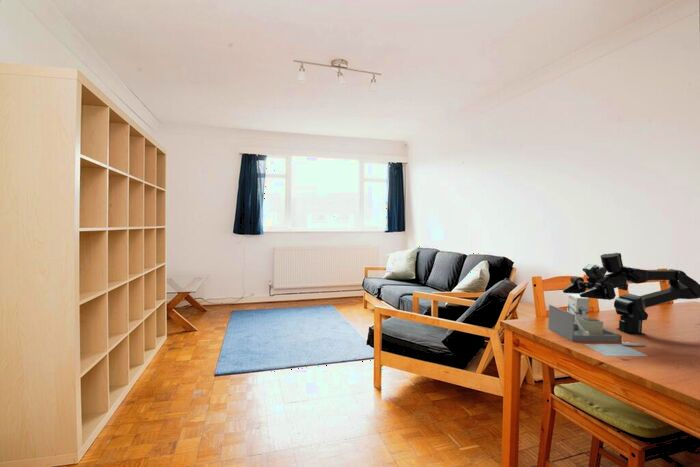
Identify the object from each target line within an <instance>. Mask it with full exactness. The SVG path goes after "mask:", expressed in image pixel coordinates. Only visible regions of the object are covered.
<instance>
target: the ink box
mask: <svg viewBox="0 0 700 467" xmlns="http://www.w3.org/2000/svg"><path fill="white" fill-rule="evenodd" d="M567 294H568V295H567V296H568V297H567V308H566V309H567V310H566V311H567V312H569V313H572V314H574V315H575V318H576V320H577V321H578V322H579V318H589V304H590V298H585V297H580V294H581V293H580V294H576V293H567ZM574 324H576V323H575V321H574Z"/></svg>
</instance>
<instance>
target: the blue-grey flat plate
mask: <svg viewBox="0 0 700 467" xmlns="http://www.w3.org/2000/svg"><path fill="white" fill-rule="evenodd" d="M583 345H584V346H586V347H587V348H589V349H592V350H594V351H596V352H597V353H599V354H602V355H604V356H606V357H648V355H647V354H646V353H643V352H640V351H638V350H636V349H634V348H632V347H630V346H623V345H621V343H620V344H615V343H613V344H612V343H611V344H606V343H603V344H601V343H599V344H598V343H597V344H595V343H594V344H593V343H592V344H591V343H585V344H583Z"/></svg>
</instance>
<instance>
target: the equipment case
mask: <svg viewBox="0 0 700 467" xmlns="http://www.w3.org/2000/svg"><path fill="white" fill-rule="evenodd" d="M574 321H575V323H576V324H574ZM547 323H548V330H550V331H552V332H554V333H556V334H558V335H559V336H561V337H563V338H565V339H567V340H569V341H570V342H613V343H614V342H617V343H618V342H620V343H621V342H622V335H620V334H619V333H617V332H613V331H611V330H610V329H607V328H604V327H603V333H602V335H589V332H588V331H585V330H584V329H583V327H582V326H581V325H580V323H579V322H578V321H577V320H576V318H575V315H574V314H572V313H569V312H567V310H564V309H562V308H560V307H557V306H554V305H552V304H549V306H548V322H547ZM578 327H579V328H580V329H581V330H582V331H581V334H578Z"/></svg>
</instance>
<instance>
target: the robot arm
mask: <svg viewBox="0 0 700 467" xmlns="http://www.w3.org/2000/svg"><path fill="white" fill-rule="evenodd" d="M600 260H601V265H602V266H599V265H597V264H591V263H588V264H587V265H586V266H584V267H583V268H582V272H583V273H585V275H586V276H587V277H586V281H585V279H584V278H583V277H580V276H571V277H570V284H569V285H568V286H567V287H565V288H564V289H562V292H563V294H580V297H585V298H589V299H596V300H597V299H598V300H604V301H605V300H609V301H611V300H614V302H613V307H614V309H615V312H616V315H620V316H619V317H620V318H619V320H618V322H619V323H618V328H617V327H616V329H615V330H618V331H620V332H623V333H625V334H628V335H638V336H646V333H644V332H643V321H647V320H648V317H649V314H648V313H647V312H646V309H647V308H650V307H653V306H659V305H661V304H665V303H669V302H673V301H676V300H677V301H678V300H698V299H700V283H699V282H698V281H697V280H694V279H693V278H692V277H690V276H688V274H686V272H684V271H683V270H681V269H680V270H679V269H671V268H669V269H643V268H642V269H641V268H635V267H629V266H626V265H625V266H624V264H623V259H622V253H620V252H613V253H604V254H601V255H600ZM606 273H607V274H606ZM648 281H668V286H669V287H668V288H664V289H660V290H657V291H654V292H651V293H646V294H642V295H638V294H637V295H636V294H632V293H625V294H623V295H618V297H616V296H617V294H616V291H615V289H617V288H618V290H622V291H626V292H627V291H628V289H629V284H628V283H632V284H637V285H638V284H643V283H647V282H648ZM587 289H588V290H587Z"/></svg>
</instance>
